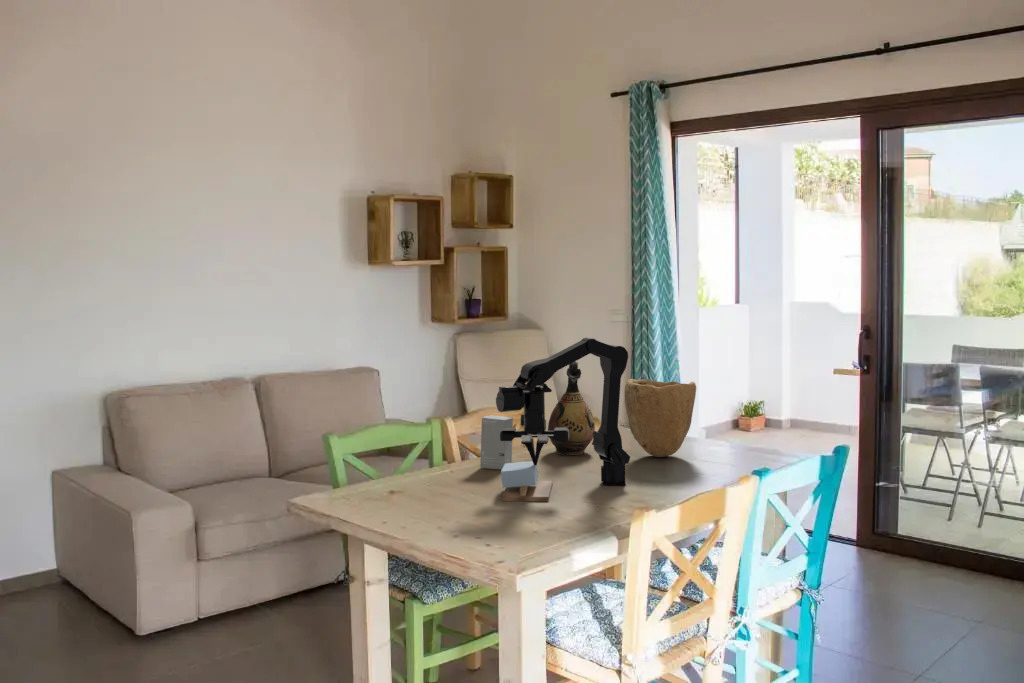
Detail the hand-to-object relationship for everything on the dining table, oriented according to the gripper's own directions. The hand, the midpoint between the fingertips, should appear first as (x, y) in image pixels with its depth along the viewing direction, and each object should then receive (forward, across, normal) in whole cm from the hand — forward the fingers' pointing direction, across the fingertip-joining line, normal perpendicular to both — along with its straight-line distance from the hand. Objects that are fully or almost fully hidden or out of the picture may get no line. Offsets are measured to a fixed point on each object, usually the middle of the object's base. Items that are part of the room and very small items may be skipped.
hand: (535, 465), depth 270 cm
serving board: (+8, +2, 0) cm, 8 cm away
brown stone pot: (+8, -37, -47) cm, 60 cm away
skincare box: (+8, +14, -31) cm, 35 cm away
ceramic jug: (+8, -8, -54) cm, 55 cm away
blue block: (+2, 0, 0) cm, 2 cm away
